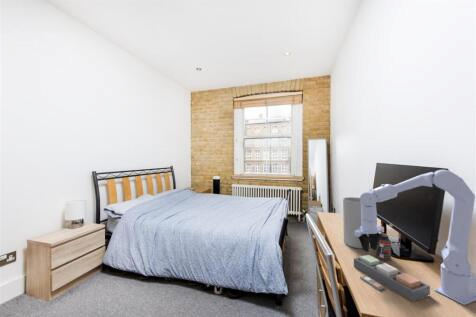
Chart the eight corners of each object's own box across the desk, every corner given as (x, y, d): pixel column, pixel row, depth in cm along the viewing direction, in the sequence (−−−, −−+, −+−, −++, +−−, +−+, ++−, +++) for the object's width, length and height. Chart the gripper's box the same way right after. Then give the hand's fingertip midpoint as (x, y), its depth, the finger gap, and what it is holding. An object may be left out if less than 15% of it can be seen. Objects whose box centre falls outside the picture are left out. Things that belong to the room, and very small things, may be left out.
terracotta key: (405, 280, 77) (405, 272, 77) (420, 288, 72) (420, 280, 72) (395, 283, 75) (395, 275, 75) (410, 292, 70) (410, 283, 70)
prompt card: (365, 276, 83) (365, 275, 83) (385, 289, 75) (385, 287, 75) (360, 278, 82) (360, 276, 82) (379, 290, 74) (379, 289, 74)
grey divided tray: (368, 262, 93) (368, 255, 93) (429, 295, 71) (429, 286, 71) (353, 266, 91) (353, 258, 91) (413, 301, 68) (413, 291, 68)
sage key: (368, 261, 91) (368, 254, 91) (379, 267, 86) (379, 260, 86) (360, 263, 89) (360, 256, 89) (370, 269, 85) (370, 262, 85)
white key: (385, 270, 84) (385, 263, 84) (398, 277, 79) (398, 269, 79) (376, 272, 82) (376, 265, 82) (389, 279, 78) (388, 271, 78)
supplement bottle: (384, 262, 94) (384, 237, 93) (372, 255, 99) (372, 233, 99) (394, 259, 95) (394, 236, 95) (382, 254, 101) (381, 231, 101)
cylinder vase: (367, 241, 116) (366, 198, 115) (371, 250, 104) (370, 202, 104) (343, 238, 121) (342, 196, 121) (344, 246, 110) (343, 201, 109)
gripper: (372, 214, 94) (373, 243, 94) (348, 218, 89) (348, 249, 89) (388, 219, 87) (388, 250, 87) (362, 223, 82) (363, 256, 83)
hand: (369, 250), depth 88 cm, fingers open, 4 cm apart
